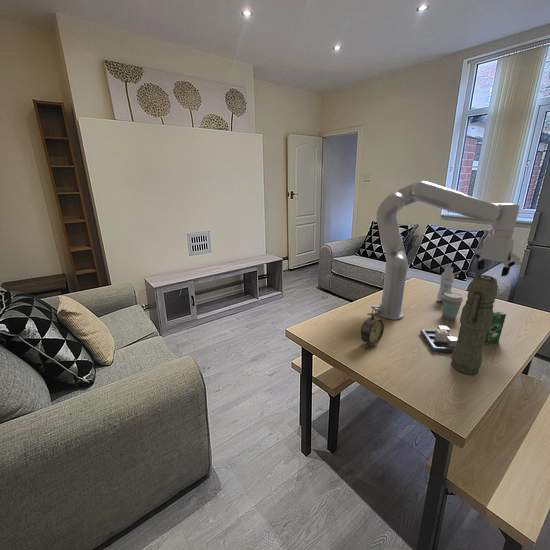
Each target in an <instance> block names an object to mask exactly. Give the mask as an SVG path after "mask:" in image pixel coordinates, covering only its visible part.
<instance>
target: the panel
mask: <svg viewBox="0 0 550 550" xmlns="http://www.w3.org/2000/svg"><path fill="white" fill-rule="evenodd" d="M436 329H444V330H446V331H447V332H448V333H449V334H448V336H447V339H446V342H445V341H436V340H435V339H434V338H435V333H436ZM436 329H424V328H420V333H419V334H420V336H421V337H422V339H423V340H424V342H425V343H426V345H427V346H428V349H430V351H431V352H432V354H447V355H452V354H453V350H454V349H455V348H456V344H457V339H458V336H453V335H452V334H451V332H450V331H451V329H450V328H449V327H448V326H447V325H440V324H439V325H437V328H436Z"/></svg>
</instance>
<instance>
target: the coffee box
mask: <svg viewBox="0 0 550 550" xmlns="http://www.w3.org/2000/svg"><path fill="white" fill-rule="evenodd" d="M493 313H494V315H493V319H492V323H491V327H490V329H489V330H488V332H487V335H486V339H485V343H484V345H488V344H493V343H498V342H499V341H500V340H501V339H500V338H501V335H502V331H503V327H504V324H505V320H506V317H507V314H506V313H505V312H502V311H495V312H493Z"/></svg>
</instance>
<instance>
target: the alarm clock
mask: <svg viewBox="0 0 550 550" xmlns="http://www.w3.org/2000/svg"><path fill="white" fill-rule="evenodd" d="M373 312H374V314H373ZM376 313H377V311H376V310H375V309H371V313H370V317H367V319H365V320H364V322H363V323H362V325H361V329H360V338H361V340H362V341H363V343H366V347H365V349H366V350H367V349H368V347H369V346H375V345H377V344H379V342H380V341H381V339H382V337H383V334H384V329H385V324H384V321H383V319H380V318H378V317H377V318H376V317H375V315H376Z"/></svg>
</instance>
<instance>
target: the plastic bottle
mask: <svg viewBox="0 0 550 550" xmlns="http://www.w3.org/2000/svg"><path fill="white" fill-rule="evenodd" d="M453 272H454V267H453V266H445V268H444V271H443V272H442V273H441V275H440V285H439V288H438V289H439V290H438V293H437V296H436V298H437V301H438V302H440V303H443V295H444V294H445V293H446V292H452V287H453V284H454V280H455V275H454V273H453Z"/></svg>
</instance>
